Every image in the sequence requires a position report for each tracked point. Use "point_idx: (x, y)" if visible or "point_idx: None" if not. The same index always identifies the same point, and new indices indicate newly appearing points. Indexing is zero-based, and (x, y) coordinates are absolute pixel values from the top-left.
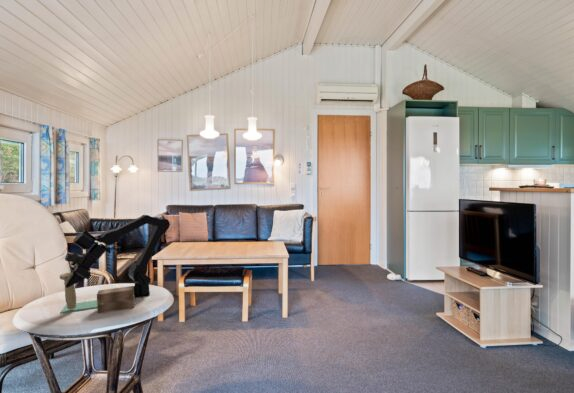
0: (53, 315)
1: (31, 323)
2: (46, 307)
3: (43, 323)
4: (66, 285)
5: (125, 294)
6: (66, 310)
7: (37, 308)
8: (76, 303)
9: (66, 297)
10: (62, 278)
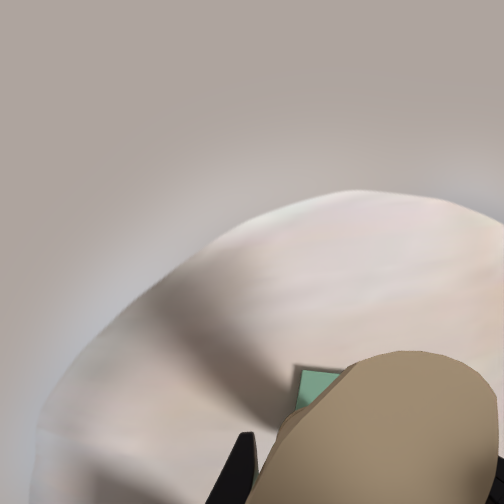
0: (290, 335)
1: (223, 245)
2: (448, 284)
3: (181, 296)
4: (237, 448)
5: None
6: (312, 400)
7: (448, 247)
8: None
9: (290, 416)
10: (298, 415)
